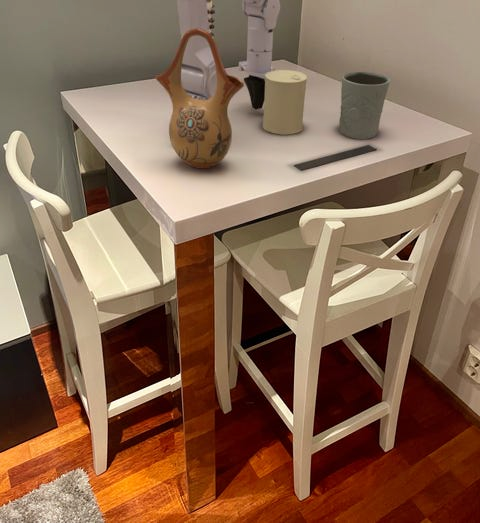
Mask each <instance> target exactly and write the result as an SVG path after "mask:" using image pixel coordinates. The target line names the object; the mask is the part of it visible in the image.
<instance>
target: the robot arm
mask: <svg viewBox="0 0 480 523" xmlns="http://www.w3.org/2000/svg"><path fill="white" fill-rule="evenodd" d="M280 3H281V2H280V0H241V10H242V13H243V14H244V15H245V17H247V38H246V39H247V40H246V41H247V42H246V43H247V44H246V47H247V48H246V60H243V61H238V71H239V72H245V74H247V75H248V76H245V77H244V78H243V83H244V85H245V86H246V88H247V91H248V94H249V98H250V104H251V108H252V109H253V110H260V109H263V108H264V99H265V74H266V73H268V72H270V71H275V70H276V69H275V67H274V66H272V62H273V61H272V60H273V43H274V29H275V28H276V25H277V19H278V16H279V14H280V11H281V4H280ZM176 5H177V14H178V20H179V30H180V38H181V40H182V38H183V36H184V34H185V33H186V32H187V31H189V30H191V29H196V28H199V29H202V30H205V31H206V32H208V33H209V23H208V11H207V0H176ZM174 58H175V56H174V57H173V59H174ZM181 83H182V86H183V88H184V90H185V91H186V93H187V94H188V95H190V96H191V97H193V98H195V99H200V100H208V99H210V98H211V97H212V96H213V95H214V94H215V92H216V89H217V74H216V67H215V62H214V58H213V55H212V52H211V49H210V46H209V44H208V42H207V40H206V39H205V38H204V37H202V36H198V35H196V36H192V37H190V39H189V40H188V42H187V45H186V48H185V52H184V56H183V61H182V68H181Z"/></svg>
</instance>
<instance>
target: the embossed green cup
mask: <svg viewBox="0 0 480 523" xmlns="http://www.w3.org/2000/svg"><path fill="white" fill-rule="evenodd" d="M390 82H391V79H390V78H389V77H388V76H386V75H384V74H381V73H377V72H369V71H351V72H347V73H344V74H343V75H342V77H341V90H340V93H341V94H340V103H341V104H340V115H339V123H338V124H339V125H338V132H339V133H340V134H341V135H342V136H345V137H347V138H350V139H355V140H368V139H369V140H370V139H372V138H375V137H376V136H377V134H378V131H379V128H380V121H381V118H382V113H383V108H384V104H385V101H386V100H385V99H386V97H387V94H388V90H389V86H390Z"/></svg>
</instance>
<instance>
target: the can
mask: <svg viewBox="0 0 480 523" xmlns="http://www.w3.org/2000/svg"><path fill="white" fill-rule="evenodd" d="M307 80H308V76H307V75H306V74H305V73H303V72H301V71H297V70H291V69H275V70H274V71H270V72H268V73H266V74H265V99H264V104H263V118H262V119H263V120H262V126H261V127H262V128H263V130H264V131H266V132H268V133H270V134H273V135H282V136H283V135H285V136H286V135H294V134H298V133H300V132H301V131H302V130H303V129H304V126H303V123H304V122H303V119H304V109H305V99H306V89H307Z"/></svg>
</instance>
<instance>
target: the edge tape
mask: <svg viewBox="0 0 480 523" xmlns="http://www.w3.org/2000/svg"><path fill="white" fill-rule="evenodd" d="M377 150H378V148H376V147H374V146H371V145H370V144H367V145H363V146H360V147H356V148H352V149H348V150H344V151H341V152H337V153H334V154H330V155H326V156H325V155H324V156H321V157H318V158H314V159H311V160H307V161H304V162H300V163H296V164H293V167H295V168H296V169H298V170H299V171H306V170H309V169H312V168H317V167H320V166H325V165H327V164H331V163H335V162H338V161H342V160H345V159H349V158H353V157H357V156H360V155H363V154H367V153H371V152H374V151H377Z"/></svg>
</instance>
